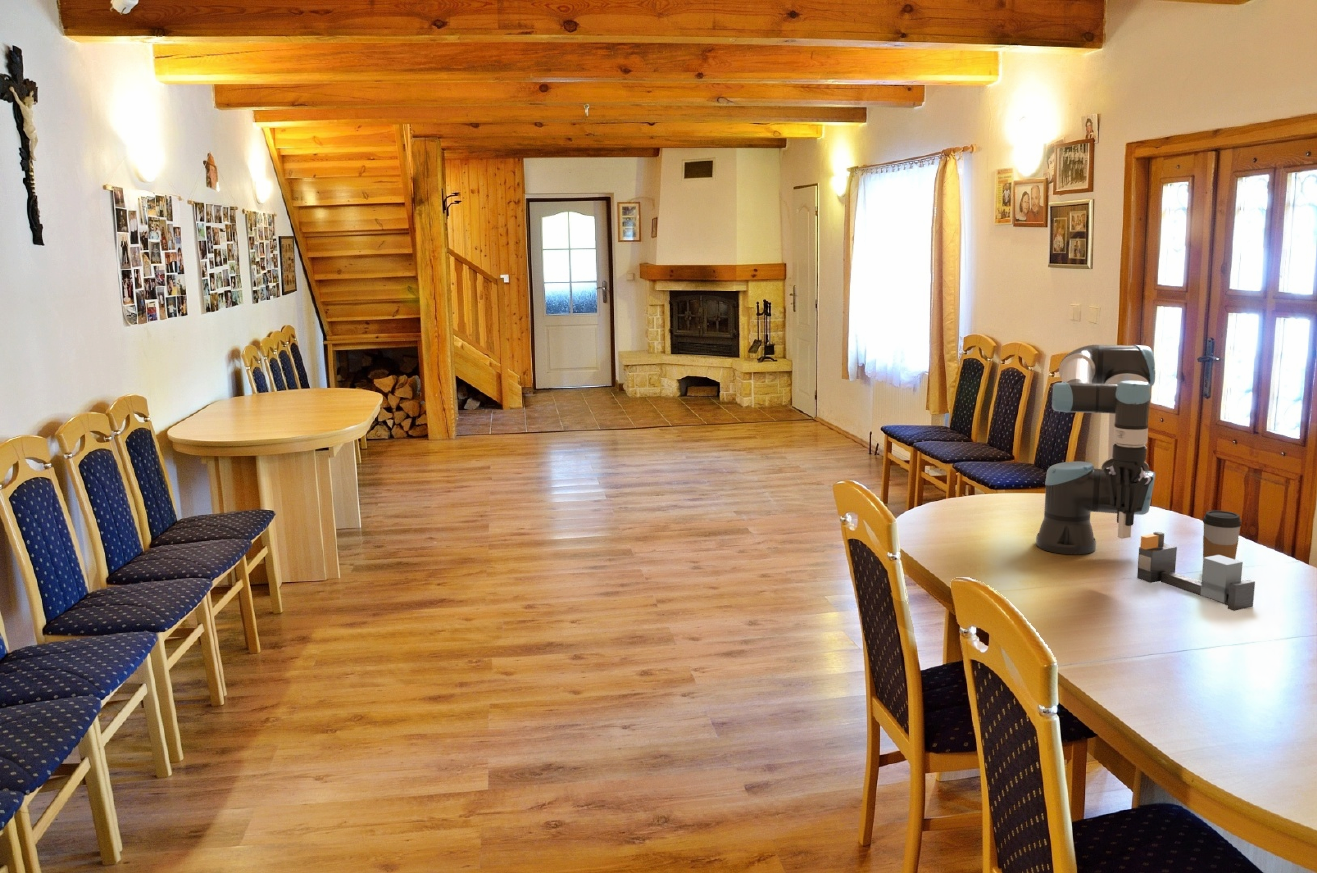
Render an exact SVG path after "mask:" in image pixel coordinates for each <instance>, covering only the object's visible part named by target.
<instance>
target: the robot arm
mask: <svg viewBox="0 0 1317 873" xmlns="http://www.w3.org/2000/svg"><path fill="white" fill-rule="evenodd" d="M1058 374H1059V377H1060V378H1061V382H1055V383H1054V384H1053V386H1052V397H1051V398H1052V400H1051V402H1052V403H1051V407H1052V410H1054V412H1063V413H1065V414H1066V413H1086V414H1087V413H1088V414H1089V413H1090V414H1091V413H1093V414H1108V446H1107V447H1108V448H1107V449H1108V450H1107V459H1105V460H1104V461H1103V463H1102V464H1101V467H1100V468H1095V466H1094V464H1093V462H1090V461H1079V460H1078V461H1077V460H1076V461H1065V462H1059V463H1056V464H1053V465H1051V466H1049V467H1048V469H1047V470H1046V476H1045V477H1046V478H1045V482H1044V485H1045V493H1044V494H1045V497H1044V510H1043V511H1044V512H1043V513H1044V515H1043V520H1042V522H1041V524H1040V527H1039V532H1038V533H1037V535H1036V539H1035V544H1036V546H1037V548H1039V549H1041V550H1044V551H1046V552H1051V553H1055V554H1061V555H1062V554H1063V555H1087V554H1091V553H1093V552H1095V551H1096V547H1097V540H1096V538H1095V536H1094V532H1093V531H1094V530H1093V527H1092V523H1091V513H1106V514H1116V522H1117V523H1116V524H1118V525H1117V526H1118V527H1117V538H1118V539H1127V538H1131V537H1132V535H1131V534H1132V526H1134V522H1135V521H1134V520H1135V519H1134V518H1135V516H1136V515H1137V516H1139V515H1140V516H1141V515H1142V516H1144V515H1146V514H1148V513H1149V511H1150V508H1151V507H1150V506H1151V501H1152V495H1153V491H1154V485H1155V479H1156V472H1154V471H1151V470H1150V467H1149V464H1148V463H1147V461H1146V460H1147V450H1148V447H1147V446H1146V445H1147V444H1148V440H1149V439H1148V435H1149V417H1150V403H1151V399H1152V393H1151V387H1153V386H1154V384H1155V382H1156V360H1155V356H1154V352H1153V349H1152V348H1151V347H1150V346H1147V345H1140V344H1139V345H1138V344H1132V345H1128V344H1127V345H1126V344H1125V345H1124V344H1123V345H1122V344H1121V345H1119V344H1118V345H1116V344H1088V345H1084V346H1081V347H1078V348H1076V349H1073V350H1072V351H1070V352H1069V353H1067V354H1066V355H1065V356H1064V357H1063V358H1062V360H1061V361H1060V363H1059V367H1058Z"/></svg>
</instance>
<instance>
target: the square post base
mask: <svg viewBox="0 0 1317 873" xmlns="http://www.w3.org/2000/svg"><path fill="white" fill-rule="evenodd" d="M1255 586H1256V581H1255V580H1252V579H1249V578H1247V579H1244V580H1241V581H1238V582H1234V583H1230V586H1229V598H1228V605H1227V610H1230V611H1233V612H1236V611H1240V610H1245V609H1249V608H1254V598H1255V588H1256V587H1255Z"/></svg>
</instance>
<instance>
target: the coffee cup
mask: <svg viewBox="0 0 1317 873" xmlns="http://www.w3.org/2000/svg"><path fill="white" fill-rule="evenodd" d="M1202 523H1203V535H1202V536H1203V537H1202V549H1203V550H1202V551H1203V552H1202V559H1203V558H1205V557H1210V556H1215V555H1222V556H1225V557H1228V558H1232V559H1235V560H1236V557H1237V551H1238V545H1239V539H1240V538H1239V536H1240V529H1241V527H1242V520H1241V518H1240V514H1238V513H1236V512H1232V511H1225V510H1207V511H1206V512H1205V514H1204V516H1203V520H1202Z"/></svg>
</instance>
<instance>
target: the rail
mask: <svg viewBox="0 0 1317 873" xmlns="http://www.w3.org/2000/svg"><path fill="white" fill-rule="evenodd" d="M1201 582H1202V580H1201V581H1200V580H1197V579H1194V578H1190V577H1188V576H1185V575H1182V574H1179V573H1176V572H1175V573H1174V572H1171V571H1165V572H1161V581H1160V583H1162V584H1164V585H1168V586H1171V587H1173V588H1177V589H1179V590H1182V591H1185V592H1189V593H1190V594H1194V595H1197V596H1199V597H1202V598H1205V599H1209V600H1211V601H1214V602H1217V603H1219V604H1222V605H1225V606H1228V598H1229V594H1227V597H1226V603H1222V602H1219V601H1217V600H1214V599H1211V598H1208V597H1205V596H1202V595H1201Z"/></svg>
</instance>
